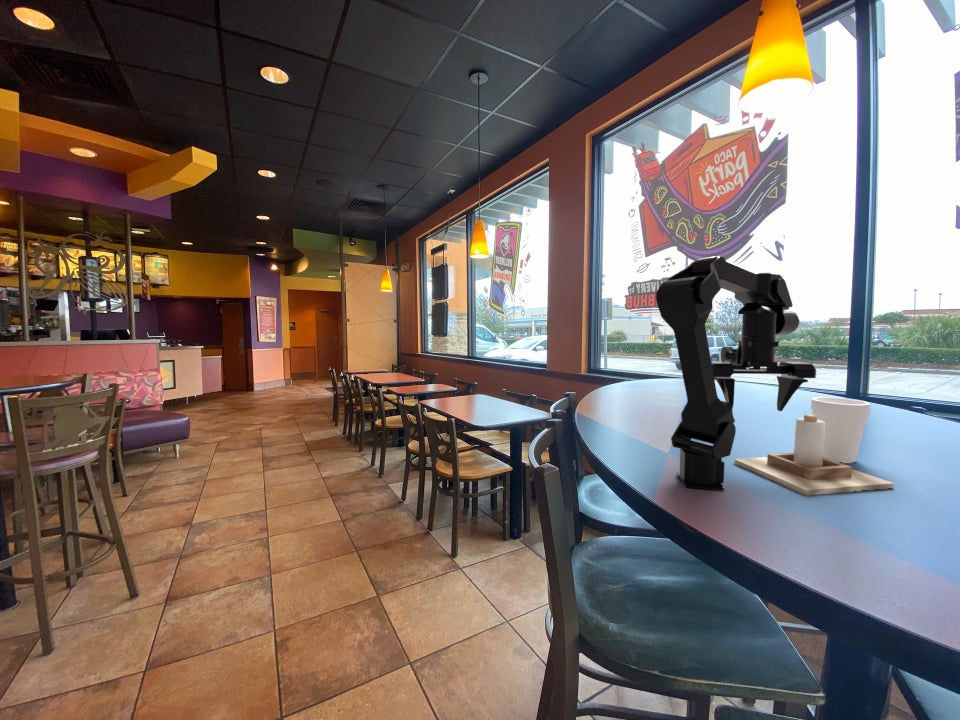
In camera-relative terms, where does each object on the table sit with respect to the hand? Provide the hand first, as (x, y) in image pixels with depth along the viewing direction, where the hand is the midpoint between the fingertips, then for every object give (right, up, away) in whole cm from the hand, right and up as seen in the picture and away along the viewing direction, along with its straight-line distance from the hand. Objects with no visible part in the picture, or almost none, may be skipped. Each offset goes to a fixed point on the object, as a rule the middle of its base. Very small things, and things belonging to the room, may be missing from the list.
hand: (754, 410), depth 81 cm
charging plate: (+7, -12, -5) cm, 15 cm away
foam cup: (+21, -12, +5) cm, 25 cm away
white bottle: (+7, -11, -5) cm, 14 cm away
